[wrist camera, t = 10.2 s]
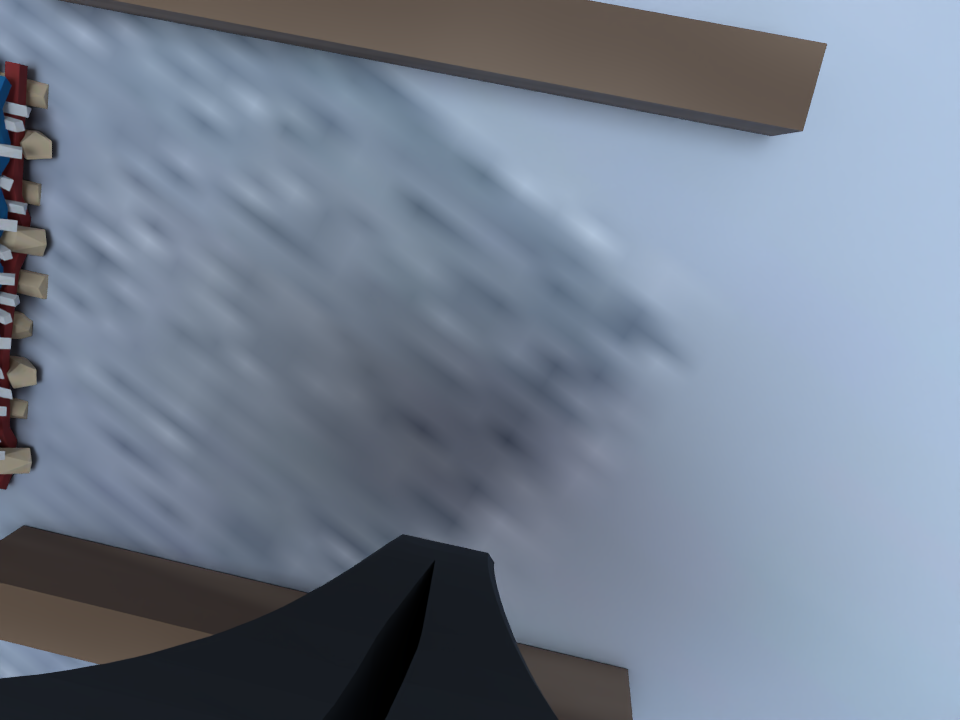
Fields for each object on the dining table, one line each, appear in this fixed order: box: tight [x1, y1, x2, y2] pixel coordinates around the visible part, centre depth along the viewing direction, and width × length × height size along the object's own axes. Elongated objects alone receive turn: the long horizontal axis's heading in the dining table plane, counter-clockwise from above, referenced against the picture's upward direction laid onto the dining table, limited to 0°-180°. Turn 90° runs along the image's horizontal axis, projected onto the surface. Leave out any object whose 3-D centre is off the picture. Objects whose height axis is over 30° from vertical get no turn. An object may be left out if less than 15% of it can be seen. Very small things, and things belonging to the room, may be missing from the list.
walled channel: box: [0, 0, 827, 720], centre depth 18 cm, size 16×16×2 cm
